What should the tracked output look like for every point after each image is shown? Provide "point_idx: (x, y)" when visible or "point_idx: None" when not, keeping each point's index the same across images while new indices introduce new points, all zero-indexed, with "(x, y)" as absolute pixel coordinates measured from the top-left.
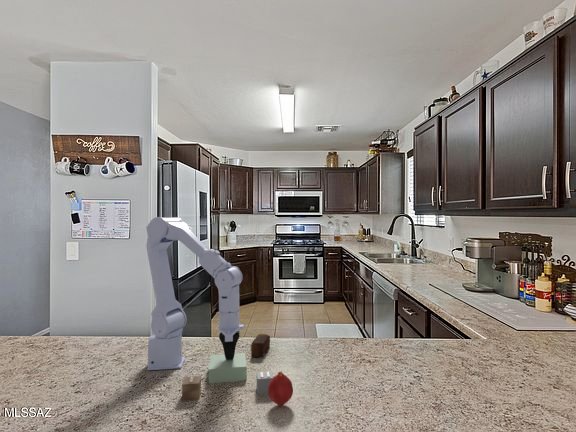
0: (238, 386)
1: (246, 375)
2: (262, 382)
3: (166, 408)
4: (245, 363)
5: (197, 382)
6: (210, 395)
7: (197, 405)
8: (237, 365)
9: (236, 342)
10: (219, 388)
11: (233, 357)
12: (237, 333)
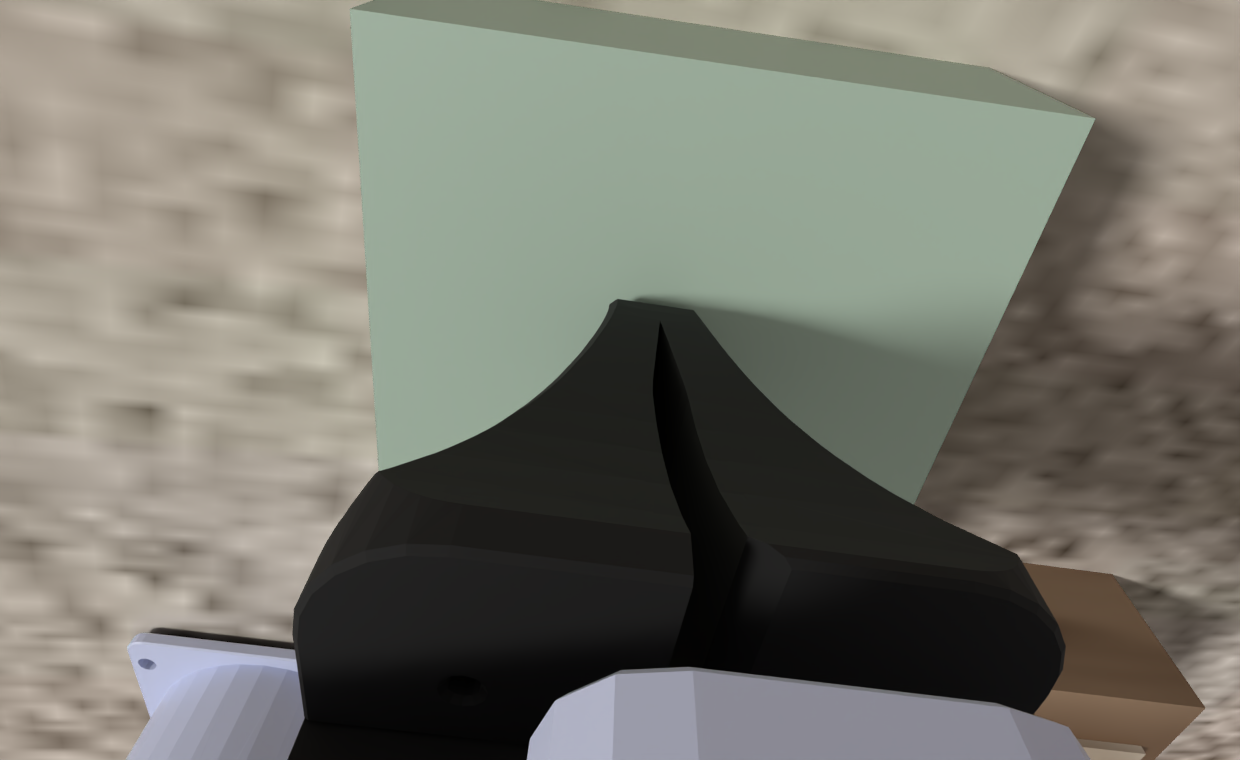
0: (1103, 214)
1: (1019, 84)
2: None
3: None
4: (938, 110)
5: (1173, 716)
6: (1103, 497)
7: (1204, 590)
8: (946, 267)
9: (899, 505)
10: (1010, 413)
11: (703, 323)
12: (676, 618)
